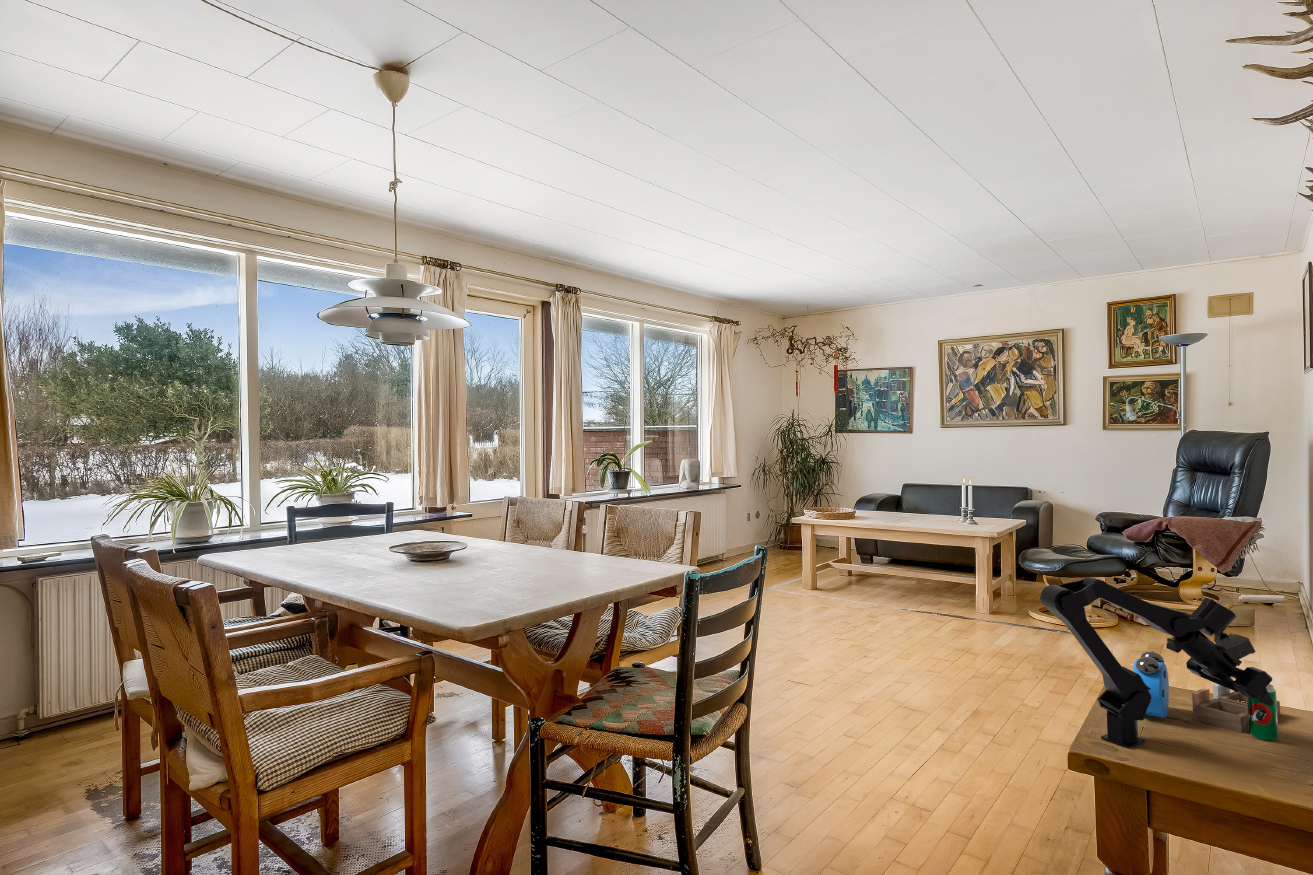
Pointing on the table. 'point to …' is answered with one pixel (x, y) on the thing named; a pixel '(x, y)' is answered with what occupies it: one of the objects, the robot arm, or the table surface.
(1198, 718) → the socket block
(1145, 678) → the alarm clock
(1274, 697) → the soda can
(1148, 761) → the table surface
